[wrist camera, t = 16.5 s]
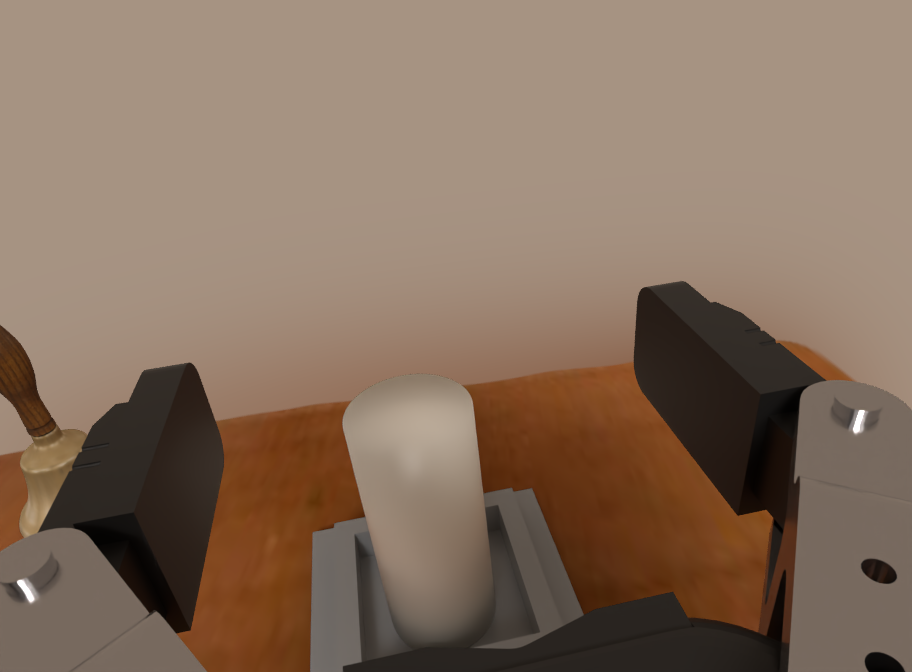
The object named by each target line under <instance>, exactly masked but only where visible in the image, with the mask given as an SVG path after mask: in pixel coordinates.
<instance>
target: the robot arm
mask: <svg viewBox="0 0 912 672" xmlns="http://www.w3.org/2000/svg"><path fill="white" fill-rule="evenodd" d="M634 370H635V375H636V379H637V382H638V384H639V387H640V389H641V390H642V392H643V393H644V395H645V396H646V397H647V399H648V400H649V401H650V403H651V404H652V405H653V406H654V408H655V409H656V410H657V412H658V413H659V414H660V416H661V417H662V418H663V419H664V421H665V422H666V423H667V425H668V426H669V427H670V428H671V430H672V431H673V432H674V434H675V435H676V436H677V438H678V439H679V440H680V441H681V443H682V444H683V445H684V447H685V448H686V449H687V451H688V452H689V453H690V454H691V456H692V457H693V458H694V460H695V461H696V462H697V464H698V465H699V466H700V467H701V469H702V470H703V471H704V473H705V474H706V475H707V477H708V478H709V479H710V480H711V482H712V483H713V484H714V486H715V487H716V488H717V489H718V491H719V492H720V493H721V495H722V496H723V497H724V499H725V500H726V501H727V502H728V504H729V505H730V506H731V508H732V509H733V510H734V512H735V513H736V514H737V515H738V516H739V515H743V514H748V513H753V512H757V511H762V510H767V511H768V512H769V513H770V514H771V515H772V517H773V520H772V525H771V529H770V533H769V542H768V551H767V560H766V569H765V579H764V588H763V597H762V606H761V615H760V623H759V630H758V632H755V631H752V630H749V629H746V628H743V627H740V626H737V625H733V624H729V623H725V622H721V621H716V620H708V619H701V618H688V617H687V616H686V614H685V612H684V610H683V609H682V607H681V605H680V603H679V602H678V600H677V598H676V596H675V595H674V593H673V592H670V593H665V594H661V595H656V596H652V597H647V598H643V599H639V600H634V601H630V602H625V603H621V604H616V605H612V606H608V607H603V608H599V609H595V610H593V611H591V612H589V613H587V614H585V615H583V616H581V617H579V618H578V619H576V620H574V621H572V622H570V623H568V624H566V625H564V626H562V627H560V628H558V629H556V630H554V631H552V632H550V633H549V634H547V635H545V636H543V637H541V638H539V639H537V640H535V641H533V642H531V643H529V644H527V645H525V646H523V647H519V648H513V649H499V648H449V647H425V648H421V649H417V650H412V651H408V652H403V653H399V654H394V655H390V656H386V657H381V658H377V659H372V660H368V661H363V662H359V663H354V664H350V665H346V666H343V672H912V410H911V409H910V408H909V407H908V406H907V404H906V403H904V402H903V401H901V400H900V399H899V398H897V397H896V396H894V395H893V394H890V393H889V392H887V391H884V390H882V389H880V388H877V387H874V386H871V385H867V384H864V383H859V382H853V381H844V380H831V381H826V380H825V379H824V378H822V377H821V376H820V375H819V374H817V373H816V372H815V371H814V370H812V369H811V368H810V367H809V366H807V365H806V364H805V363H804V362H802V361H801V360H800V359H799V358H797V357H796V356H795V355H794V354H792V353H791V352H790V351H789V350H787V349H786V348H785V347H784V346H782V345H781V344H780V343H777V344H776V342H775V339H774V338H772V337H771V336H770V335H769V334H767V333H766V332H765V331H761V330H760V327H759V326H757V325H756V324H755V323H754V322H752V321H751V320H750V319H749V318H747V317H746V316H745V315H744V314H742V313H741V312H738V311H736V310H733V309H731V308H729V307H726V306H724V305H721V304H719V303H717V302H713V303H710V302H709V301H708V300H707V299H706V298H704V297H703V296H702V295H701V294H700V293H699V292H697V291H696V290H695V289H694V288H693V287H691V286H690V285H689V284H688V283H686V282H684V281H680V282H674V283H668V284H662V285H656V286H650V287H644V288H642V289H641V291H640V292H639V295H638V301H637V314H636V331H635V347H634ZM81 449H82V452H79V453H78V455H77V457H76V459H75V461H74V463H73V465H72V471H69V472H68V474H67V476H66V478H65V480H64V482H63V484H62V486H61V488H60V490H59V492H58V494H57V496H56V498H55V500H54V502H53V504H52V505H51V507H50V509H49V511H48V513H47V515H46V517H45V519H44V521H43V523H42V525H41V527H40V529H39V531H38V533H36V534H33V535H30V536H28V537H26V538H23V539H21V540H19V541H17V542H15V543H13V544H12V545H10V546H8V547H7V548H5V549H4V550H2V551H1V552H0V672H207V671H206V670H205V669H204V668H203V666H202V665H201V664H200V663H199V661H198V660H197V659H196V658H195V657H194V655H193V654H192V653H191V652H190V650H189V649H188V648H187V647H186V645H185V644H184V643H183V642H182V640H181V639H180V638H179V637H178V636H177V634H176V633H180V632H185V631H190V630H191V626H192V621H193V616H194V611H195V606H196V601H197V596H198V591H199V586H200V582H201V577H202V572H203V567H204V562H205V557H206V552H207V547H208V542H209V537H210V532H211V527H212V523H213V518H214V513H215V508H216V503H217V498H218V493H219V488H220V483H221V478H222V473H223V468H224V453H223V445H222V440H221V436H220V433H219V430H218V427H217V424H216V421H215V419H214V416H213V413H212V410H211V408H210V404H209V402H208V399H207V396H206V393H205V391H204V388H203V385H202V382H201V379H200V376H199V374H198V372H197V369H196V368H195V366H194V365H193V364H192V363H184V364H179V365H172V366H167V367H161V368H155V369H149V370H144V371H143V372H142V374H141V376H140V378H139V380H138V382H137V384H136V387H135V389H134V391H133V393H132V395H131V398H130V400H129V402H127V403H121V404H115V405H114V406H113V407H112V408H111V409H110V410H109V411H108V412H107V413H106V414H105V415H104V416H103V417H102V418H101V419H99V420H98V421H97V422H96V423H95V424H94V425H93V426H92V428H91V430H90V432H89V434H88V436H87V438H86V439H85V441H84V443H83V445H82V447H81Z"/></svg>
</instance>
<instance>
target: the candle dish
mask: <svg viewBox="0 0 912 672" xmlns="http://www.w3.org/2000/svg"><path fill="white" fill-rule="evenodd" d="M483 495H484V504H485V513H486V521H487V530H488V539H489V548H490V556H491V565H492V574H493V582H494V591H495V600H496V608H495V614H494V617H493V620H492V622H491V625H490V626H489V628H488V630H487V631H486V632H485V634H484V635H483V636H482V637H481V638H480V639H479V640H478V641H477V642H475V643H474V644H472V645H471V646H469V647H467V648H499V649H513V648H519V647H523V646H525V645H527V644H529V643H531V642H533V641H535V640H537V639H539V638H541V637H543V636H545V635H547V634H549V633H550V632H552V631H554V630H556V629H558V628H560V627H562V626H564V625H566V624H568V623H570V622H572V621H574V620H576V619H578V618H579V617H581V616H583V615H584V614H583V612H582V609H581V607H580V604H579V602H578V600H577V597H576V595H575V592H574V590H573V587H572V585H571V582H570V580H569V578H568V575H567V573H566V570H565V568H564V565H563V563H562V560H561V558H560V556H559V553H558V551H557V548H556V546H555V543H554V541H553V538H552V536H551V534H550V531H549V529H548V526H547V524H546V521H545V519H544V516H543V514H542V512H541V509H540V507H539V504H538V502H537V499H536V497H535V494H534V492H533V490H532V488H531V489H526V490H521V491H516V492H513V490H512V488H508V489H503V490H498V491H493V492H488V493H483ZM412 650H415V649H413V648H411V647H410V646H408V645H407V644H406V643H404V642H403V641H402V639H401V638H400V637H399V636H398V634H397V633H396V631H395V629H394V626H393V623H392V619H391V615H390V612H389V608H388V604H387V600H386V596H385V592H384V588H383V584H382V580H381V576H380V572H379V568H378V564H377V560H376V556H375V552H374V549H373V545H372V541H371V537H370V533H369V529H368V525H367V521H366V517H363V518H358V519H353V520H348V521H343V522H338V523H334V528H332V529H327V530H322V531H317V532H313V549H312V603H311V658H310V672H343V666H346V665H350V664H354V663H359V662H363V661H368V660H372V659H377V658H381V657H386V656H390V655H394V654H399V653H403V652H408V651H412Z"/></svg>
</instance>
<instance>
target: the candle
mask: <svg viewBox="0 0 912 672" xmlns="http://www.w3.org/2000/svg"><path fill="white" fill-rule="evenodd" d="M342 424H343V430H344V434H345V438H346V442H347V446H348V450H349V454H350V458H351V462H352V466H353V470H354V474H355V478H356V482H357V486H358V489H359V493H360V497H361V501H362V505H363V509H364V513H365V517H366V521H367V525H368V529H369V533H370V537H371V541H372V545H373V549H374V552H375V556H376V560H377V564H378V568H379V572H380V576H381V580H382V584H383V588H384V592H385V596H386V600H387V604H388V608H389V612H390V615H391V619H392V623H393V626H394V629H395V631H396V633H397V634H398V636H399V637H400V638H401V639H402V641H403V642H404V643H406V644H407V645H408V646H410V647H411V648H413V649H415V650H417V649H421V648H425V647H449V648H467V647H469V646H471V645H472V644H474V643H475V642H477V641H478V640H479V639H480V638H481V637H482V636H483V635H484V634H485V632H486V631H487V630H488V628H489V626H490V625H491V622H492V620H493V617H494V614H495V608H496V600H495V591H494V582H493V574H492V565H491V556H490V548H489V539H488V530H487V521H486V513H485V504H484V495H483V487H482V478H481V469H480V461H479V452H478V443H477V434H476V426H475V417H474V408H473V402H472V398H471V396H470V394H469V393H468V391H467V390H466V389H465V388H464V387H463V386H462V385H460V384H459V383H457V382H455V381H453V380H451V379H449V378H446V377H442V376H438V375H432V374H409V375H402V376H398V377H393V378H390V379H386V380H384V381H381V382H379V383H377V384H374V385H372V386H371V387H369V388H367V389H366V390H364V391H363V392H361V393H360V394H359V395H358V396H356V398H355V399H353V401H352V402H351V403H350V404H349V406H348V407H347V409H346V411H345V413H344V416H343V423H342Z"/></svg>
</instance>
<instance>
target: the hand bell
mask: <svg viewBox="0 0 912 672" xmlns="http://www.w3.org/2000/svg"><path fill="white" fill-rule="evenodd" d="M0 393H1V394H2V395H3V396H4V397H5V398H7V399H8V400H9V401H10V402H11V403H12V404H13V406H14V407H15V408H16V410H17V412H18V414H19V416H20V418H21V420H22V422H23V424H24V426H25V427H26V429H27V432H28V433H29V435H31V437H32V439H33V441H34V443H33V444H31V445H30V446H29V447H28V448H27V449H26V450H25V451H24V453H23V454H22V457H21V460H20V466H21V469H22V471H23V474H24V477H25V480H26V483H27V487H28V501H27V502H26V504H25V506H24V508H23V510H22V512H21V516H20V521H19V528H20V532H21V534H22V535H23V537H24V538H26V537H28V536H30V535H33V534H36V533H38V531H39V529H40V527H41V525H42V523H43V521H44V519H45V517H46V515H47V513H48V511H49V509H50V507H51V505H52V504H53V502H54V500H55V498H56V496H57V494H58V492H59V490H60V488H61V486H62V484H63V482H64V480H65V478H66V476H67V474H68V472H69V471H72V465H73V463H74V461H75V459H76V457H77V455H78V453H79V452H82V449H81V447H82V445H83V443H84V441H85V439H86V438H87V436H88V435H87V434H86V433H84V432H82V431H80V430H75V429H68V430H60V428H59V427H58V425H57V424H56V422H55V421H54V419H53V418H52V417H51V415H50V413H49V412H48V410H47V409H46V407H45V405H44V404H43V402H42V401H41V399H40V397H39V394H38V391H37V386H36V379H35V374H34V370H33V367H32V364H31V362H30V359H29V357H28V356H27V354H26V352H25V350H24V349H23V347H22V345H21V344H20V343H19V342H18V341H17V340H16V338H15V337H13V336H12V335H11V334H10V333H9V332H8V331H7V330H6V329H4V328H3V327H2V326H1V325H0Z"/></svg>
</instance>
